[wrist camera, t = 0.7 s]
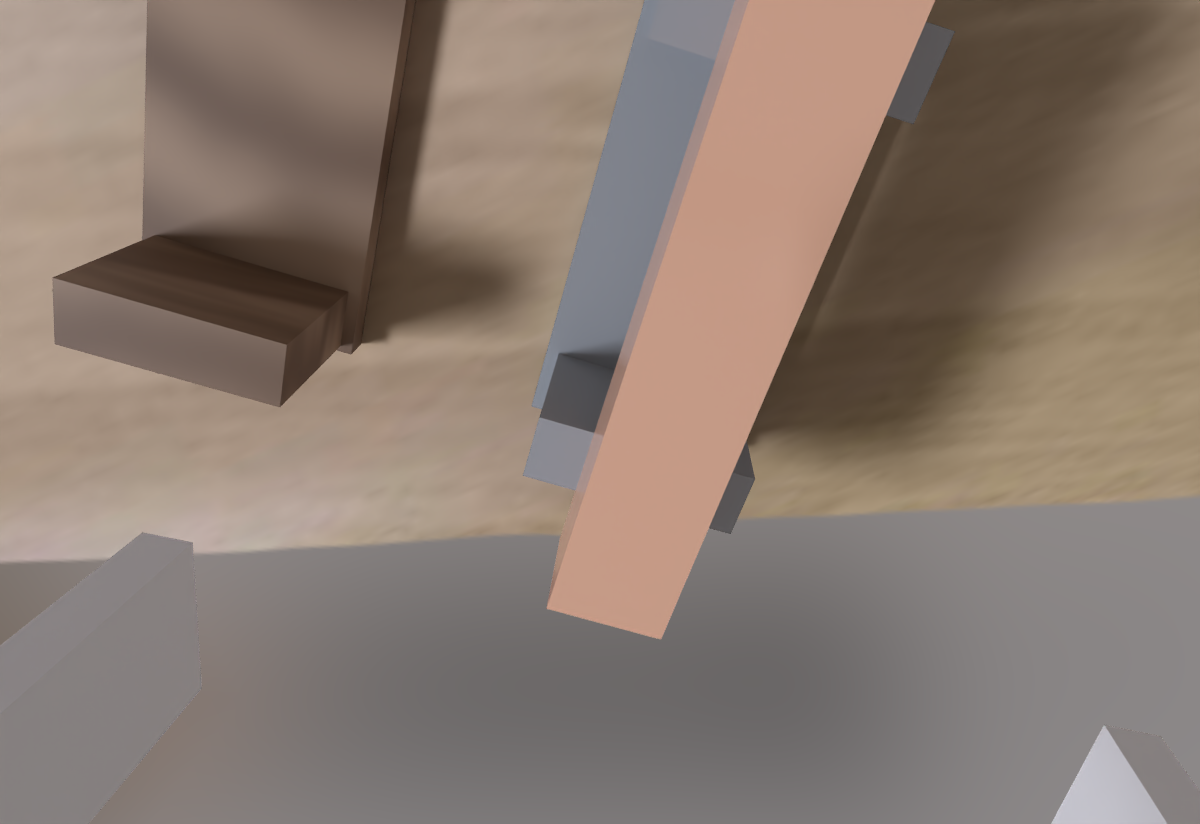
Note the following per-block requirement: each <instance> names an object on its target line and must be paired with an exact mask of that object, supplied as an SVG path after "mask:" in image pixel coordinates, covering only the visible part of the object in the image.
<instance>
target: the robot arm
mask: <svg viewBox="0 0 1200 824" xmlns="http://www.w3.org/2000/svg"><path fill="white" fill-rule="evenodd" d="M201 688H202V685H201V668H200V652H199V637H198V621H197V605H196V589H195V574H194V558H193V542H188V541H183V540H178V539H173V538H168V537H163V536H158V535H153V534H148V533H143V532H142V533H141V534H140V535H139V536H137V537H136V538H135V539H134V540H132V541H131V542H130V543H129V544H127V545H126V546H125V547H124V548H122V549H121V550H120V551H119V552H117V553H116V554H115V555H113V556H112V557H111V558H110V559H108V560H107V561H106V562H105V563H103V564H102V565H101V566H100V567H98V568H97V569H96V570H95V571H93V572H92V573H91V574H90V575H88V576H87V577H86V578H84V579H83V580H82V581H81V582H79V583H78V584H77V585H76V586H74V587H73V588H72V589H71V590H69V591H68V592H67V593H66V594H64V595H63V596H62V597H61V598H59V599H58V600H57V601H55V602H54V603H53V604H52V605H51V606H49V607H48V608H47V609H45V610H44V611H43V612H42V613H40V614H39V615H38V616H37V617H35V618H34V619H33V620H32V621H30V622H29V623H28V624H27V625H25V626H24V627H23V628H21V629H20V630H19V631H18V632H17V633H15V634H14V635H13V636H11V637H10V638H9V639H8V640H6V641H5V642H4V643H3V644H2V645H0V824H89V823H90V821H91V820H92V819H93V818H94V817H95V816H96V814H97V813H98V812H99V811H100V810H101V808H102V807H103V806H104V805H105V804H106V802H107V801H108V800H109V799H110V797H111V796H112V795H113V794H114V793H115V792H116V790H117V789H118V788H119V787H120V786H121V784H122V783H123V782H124V781H125V780H126V778H127V777H128V776H129V775H130V774H131V772H132V771H133V770H134V769H135V768H136V766H137V765H138V764H139V763H140V762H141V760H142V759H143V758H144V757H145V756H146V754H147V753H148V752H149V751H150V749H151V748H152V747H153V746H154V745H155V744H156V742H157V741H158V740H159V739H160V737H161V736H162V735H163V734H164V733H165V732H166V730H167V729H168V728H169V727H170V726H171V724H172V723H173V722H174V721H175V720H176V718H177V717H178V716H179V715H180V714H181V712H182V711H183V710H184V709H185V707H186V706H187V705H188V704H189V703H190V702H191V700H192V699H193V698H194V697H195V696H196V694H197V693H198V692H199V691H200V689H201ZM1051 824H1200V790H1199V789H1198V788H1197V786H1196V785H1195V783H1194V782H1193V781H1192V779H1191V778H1190V776H1189V775H1188V774H1187V772H1186V771H1185V770H1184V768H1183V767H1182V766H1181V764H1180V762H1179V761H1178V760H1177V758H1176V757H1175V756H1174V754H1173V753H1172V751H1171V750H1170V749H1169V747H1168V746H1167V744H1166V743H1165V742H1164V740H1163V739H1162V737H1161V736H1157V735H1152V734H1147V733H1142V732H1137V731H1132V730H1127V729H1122V728H1117V727H1112V726H1107V725H1104V726H1103V728H1102V730H1101V732H1100V733H1099V735H1098V737H1097V739H1096V741H1095V743H1094V745H1093V747H1092V748H1091V750H1090V753H1089V754H1088V756H1087V758H1086V760H1085V762H1084V764H1083V765H1082V767H1081V769H1080V771H1079V773H1078V775H1077V777H1076V778H1075V780H1074V782H1073V784H1072V786H1071V788H1070V790H1069V792H1068V793H1067V795H1066V797H1065V799H1064V801H1063V803H1062V805H1061V806H1060V808H1059V810H1058V812H1057V814H1056V816H1055V818H1054V820H1053V822H1052V823H1051Z"/></svg>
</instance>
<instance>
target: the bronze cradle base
mask: <svg viewBox="0 0 1200 824" xmlns="http://www.w3.org/2000/svg"><path fill="white" fill-rule="evenodd" d="M415 1H416V0H147V43H146V91H145V139H144V187H143V236H142V241H140V242H137V243H135V244H132V245H130V246H128V247H125V248H123V249H120V250H118V251H116V252H113V253H111V254H108V255H106V256H104V257H101V258H99V259H96V260H94V261H92V262H89V263H87V264H84V265H82V266H80V267H77V268H75V269H72V270H70V271H68V272H65V273H63V274H60V275H58V276H56V277H53V306H54V336H55V344H56V345H60V346H64V347H67V348H71V349H74V350H78V351H81V352H85V353H89V354H92V355H96V356H99V357H103V358H106V359H110V360H113V361H117V362H121V363H124V364H128V365H131V366H135V367H138V368H142V369H145V370H149V371H153V372H156V373H160V374H163V375H167V376H170V377H174V378H177V379H181V380H185V381H188V382H192V383H195V384H199V385H202V386H206V387H209V388H213V389H217V390H220V391H224V392H227V393H231V394H234V395H238V396H241V397H245V398H249V399H252V400H256V401H259V402H263V403H266V404H270V405H273V406H277V407H281V406H282V405H283V404H284V402H285V401H286V400H287V399H288V398H289V397H290V396H291V395H292V394H293V393H294V392H295V391H296V390H297V389H298V388H299V387H300V386H301V385H302V384H303V383H304V382H305V381H306V380H307V379H308V378H309V377H310V376H311V375H312V374H313V373H314V372H315V371H316V370H317V369H318V368H319V367H320V366H321V365H322V364H323V363H324V362H325V361H326V360H327V359H328V358H329V357H330V356H331V355H332V354H333V353H334V352H335V351H336V350H337V351H341V352H344V353H348V354H352V353H353V352H354V351H355V350H356V349H357V348H358V347H359V346H360V344H361V339H362V333H363V327H364V320H365V314H366V308H367V302H368V295H369V289H370V283H371V277H372V270H373V264H374V258H375V252H376V245H377V239H378V233H379V227H380V220H381V214H382V208H383V202H384V195H385V189H386V183H387V177H388V170H389V164H390V158H391V151H392V145H393V139H394V133H395V126H396V120H397V114H398V108H399V101H400V95H401V89H402V83H403V76H404V70H405V64H406V58H407V51H408V45H409V39H410V33H411V26H412V20H413V14H414V8H415Z"/></svg>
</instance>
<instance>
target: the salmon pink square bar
mask: <svg viewBox="0 0 1200 824" xmlns="http://www.w3.org/2000/svg"><path fill="white" fill-rule="evenodd" d="M934 2H935V0H735V2H734V5H733V8H732V11H731V14H730V17H729V20H728V23H727V26H726V29H725V32H724V36H723V39H722V42H721V45H720V48H719V51H718V54H717V57H716V60H715V63H714V66H713V69H712V72H711V75H710V79H709V82H708V85H707V88H706V91H705V94H704V97H703V100H702V103H701V106H700V109H699V112H698V115H697V119H696V122H695V125H694V128H693V131H692V134H691V137H690V140H689V143H688V146H687V149H686V152H685V155H684V158H683V162H682V165H681V168H680V171H679V174H678V177H677V180H676V183H675V186H674V189H673V192H672V195H671V198H670V201H669V205H668V208H667V211H666V214H665V217H664V220H663V223H662V226H661V229H660V232H659V235H658V238H657V241H656V245H655V248H654V251H653V254H652V257H651V260H650V263H649V266H648V269H647V272H646V275H645V278H644V281H643V284H642V288H641V291H640V294H639V297H638V300H637V303H636V306H635V309H634V312H633V315H632V318H631V321H630V324H629V328H628V331H627V334H626V337H625V340H624V343H623V346H622V349H621V352H620V355H619V358H618V361H617V364H616V367H615V371H614V374H613V377H612V380H611V383H610V386H609V389H608V392H607V395H606V398H605V401H604V404H603V407H602V411H601V414H600V417H599V420H598V423H597V426H596V429H595V432H594V435H593V438H592V441H591V444H590V447H589V450H588V454H587V457H586V460H585V463H584V466H583V469H582V472H581V475H580V478H579V481H578V484H577V487H576V490H575V494H574V497H573V500H572V503H571V506H570V509H569V512H568V515H567V518H566V521H565V524H564V527H563V530H562V533H561V537H560V541H559V546H558V551H557V557H556V562H555V567H554V572H553V577H552V583H551V588H550V593H549V599H548V604H547V609H550V610H553V611H557V612H561V613H565V614H568V615H572V616H576V617H580V618H583V619H587V620H591V621H595V622H598V623H602V624H605V625H609V626H613V627H616V628H620V629H624V630H628V631H632V632H635V633H639V634H642V635H646V636H650V637H654V638H657V639H661V638H662V636H663V633H664V631H665V629H666V626H667V624H668V621H669V619H670V617H671V615H672V612H673V610H674V608H675V605H676V603H677V601H678V598H679V596H680V594H681V591H682V589H683V587H684V584H685V582H686V580H687V577H688V575H689V573H690V570H691V568H692V566H693V563H694V561H695V559H696V556H697V554H698V552H699V550H700V547H701V545H702V543H703V540H704V538H705V536H706V533H707V531H708V529H709V526H710V524H711V522H712V519H713V517H714V515H715V512H716V510H717V508H718V505H719V503H720V501H721V498H722V496H723V494H724V491H725V489H726V487H727V484H728V482H729V480H730V477H731V475H732V473H733V470H734V468H735V466H736V463H737V461H738V459H739V456H740V454H741V452H742V449H743V447H744V445H745V442H746V440H747V438H748V435H749V433H750V431H751V428H752V426H753V424H754V421H755V419H756V417H757V414H758V412H759V410H760V407H761V405H762V403H763V400H764V398H765V396H766V393H767V391H768V389H769V386H770V384H771V382H772V379H773V377H774V375H775V372H776V370H777V368H778V365H779V363H780V361H781V358H782V356H783V354H784V351H785V349H786V347H787V344H788V342H789V340H790V337H791V335H792V333H793V330H794V328H795V326H796V323H797V321H798V319H799V317H800V314H801V312H802V310H803V307H804V305H805V303H806V300H807V298H808V296H809V293H810V291H811V289H812V286H813V284H814V282H815V279H816V277H817V275H818V272H819V270H820V268H821V265H822V263H823V261H824V258H825V256H826V254H827V251H828V249H829V247H830V244H831V242H832V240H833V237H834V235H835V233H836V230H837V228H838V226H839V223H840V221H841V219H842V216H843V214H844V212H845V209H846V207H847V205H848V202H849V200H850V198H851V195H852V193H853V191H854V188H855V186H856V184H857V181H858V179H859V177H860V174H861V172H862V170H863V167H864V165H865V163H866V160H867V158H868V156H869V153H870V151H871V149H872V146H873V144H874V142H875V139H876V137H877V135H878V132H879V130H880V128H881V125H882V123H883V121H884V118H885V116H886V114H887V111H888V109H889V107H890V104H891V102H892V100H893V97H894V95H895V93H896V90H897V88H898V86H899V83H900V81H901V79H902V76H903V74H904V72H905V69H906V67H907V65H908V63H909V60H910V58H911V56H912V53H913V51H914V49H915V46H916V44H917V42H918V39H919V37H920V35H921V32H922V30H923V28H924V25H925V23H926V21H927V18H928V16H929V14H930V11H931V9H932V7H933V4H934Z"/></svg>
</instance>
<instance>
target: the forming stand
mask: <svg viewBox="0 0 1200 824" xmlns="http://www.w3.org/2000/svg"><path fill="white" fill-rule="evenodd" d="M734 2H735V0H645V1H644V4H643V8H642V12H641V15H640V19H639V22H638V26H637V30H636V33H635V37H634V40H633V44H632V47H631V51H630V55H629V58H628V62H627V65H626V69H625V73H624V76H623V80H622V83H621V87H620V91H619V94H618V98H617V101H616V105H615V109H614V112H613V116H612V119H611V123H610V126H609V130H608V134H607V137H606V141H605V144H604V148H603V152H602V155H601V159H600V162H599V166H598V170H597V173H596V177H595V180H594V184H593V188H592V191H591V195H590V198H589V202H588V205H587V209H586V213H585V216H584V220H583V223H582V227H581V231H580V234H579V238H578V241H577V245H576V249H575V252H574V256H573V259H572V263H571V267H570V270H569V274H568V277H567V281H566V284H565V288H564V292H563V295H562V299H561V302H560V306H559V310H558V313H557V317H556V320H555V324H554V328H553V331H552V335H551V338H550V342H549V345H548V349H547V353H546V356H545V360H544V363H543V367H542V371H541V374H540V378H539V381H538V385H537V389H536V392H535V396H534V399H533V403H532V407H536V408H539V409H542V411H541V414H540V417H539V421H538V424H537V428H536V431H535V435H534V438H533V442H532V445H531V449H530V452H529V456H528V459H527V463H526V466H525V470H524V473H523V476H526V477H530V478H533V479H537V480H540V481H544V482H547V483H551V484H554V485H558V486H562V487H565V488H569V489H572V490H576V487H577V484H578V481H579V478H580V475H581V472H582V469H583V466H584V463H585V460H586V457H587V454H588V450H589V447H590V444H591V441H592V438H593V435H594V432H595V429H596V426H597V423H598V420H599V417H600V414H601V411H602V407H603V404H604V401H605V398H606V395H607V392H608V389H609V386H610V383H611V380H612V377H613V374H614V371H615V367H616V364H617V361H618V358H619V355H620V352H621V349H622V346H623V343H624V340H625V337H626V334H627V331H628V328H629V324H630V321H631V318H632V315H633V312H634V309H635V306H636V303H637V300H638V297H639V294H640V291H641V288H642V284H643V281H644V278H645V275H646V272H647V269H648V266H649V263H650V260H651V257H652V254H653V251H654V248H655V245H656V241H657V238H658V235H659V232H660V229H661V226H662V223H663V220H664V217H665V214H666V211H667V208H668V205H669V201H670V198H671V195H672V192H673V189H674V186H675V183H676V180H677V177H678V174H679V171H680V168H681V165H682V162H683V158H684V155H685V152H686V149H687V146H688V143H689V140H690V137H691V134H692V131H693V128H694V125H695V122H696V119H697V115H698V112H699V109H700V106H701V103H702V100H703V97H704V94H705V91H706V88H707V85H708V82H709V79H710V75H711V72H712V69H713V66H714V63H715V60H716V57H717V54H718V51H719V48H720V45H721V42H722V39H723V36H724V32H725V29H726V26H727V23H728V20H729V17H730V14H731V11H732V8H733V5H734ZM954 33H955V31H952V30H949V29H946V28H943V27H940V26H937V25H934V24H931V23H928V22H926V23H925V25H924V28H923V30H922V32H921V35H920V37H919V39H918V42H917V44H916V46H915V49H914V51H913V53H912V56H911V58H910V60H909V63H908V65H907V67H906V69H905V72H904V74H903V76H902V79H901V81H900V83H899V86H898V88H897V90H896V93H895V95H894V97H893V100H892V102H891V104H890V107H889V109H888V111H887V114H886V116H890V117H893V118H896V119H899V120H902V121H905V122H908V123H911V124H914V122H915V120H916V118H917V115H918V113H919V111H920V109H921V106H922V104H923V102H924V100H925V97H926V95H927V93H928V91H929V88H930V86H931V84H932V82H933V80H934V77H935V75H936V73H937V71H938V68H939V66H940V64H941V62H942V59H943V57H944V55H945V53H946V50H947V48H948V46H949V44H950V41H951V39H952V37H953V35H954ZM754 480H755V477H754V472H753V467H752V463H751V458H750V454H749V449H748V444H747V440H746V442H745V445H744V447H743V449H742V452H741V454H740V456H739V459H738V461H737V463H736V466H735V468H734V470H733V473H732V475H731V477H730V480H729V482H728V484H727V487H726V489H725V491H724V494H723V496H722V498H721V501H720V503H719V505H718V508H717V510H716V512H715V515H714V517H713V519H712V522H711V524H710V526H709V528H711V529H714V530H718V531H722V532H725V533H729V534H731V532H732V530H733V527H734V525H735V523H736V521H737V518H738V516H739V514H740V512H741V509H742V507H743V505H744V503H745V500H746V498H747V496H748V494H749V492H750V489H751V487H752V485H753V483H754Z"/></svg>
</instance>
